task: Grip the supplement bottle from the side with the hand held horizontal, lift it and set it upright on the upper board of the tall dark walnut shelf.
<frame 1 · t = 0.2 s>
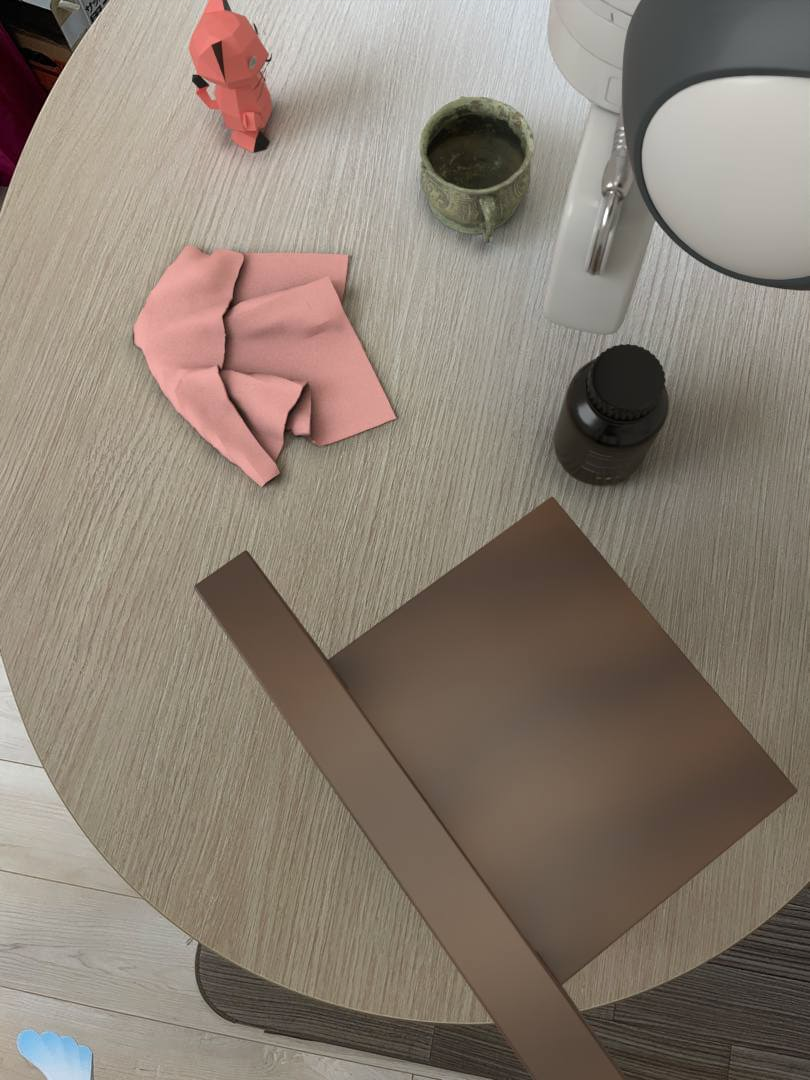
hand: (607, 220, 50), 23 cm above the table, tool pointing down, fingers open, 8 cm apart
vessel: (473, 196, 77), on the table
cat figurine: (247, 128, 80), on the table
supplement bottle: (597, 447, 71), on the table
cloth: (265, 362, 74), on the table
shelf: (502, 763, 65), on the table
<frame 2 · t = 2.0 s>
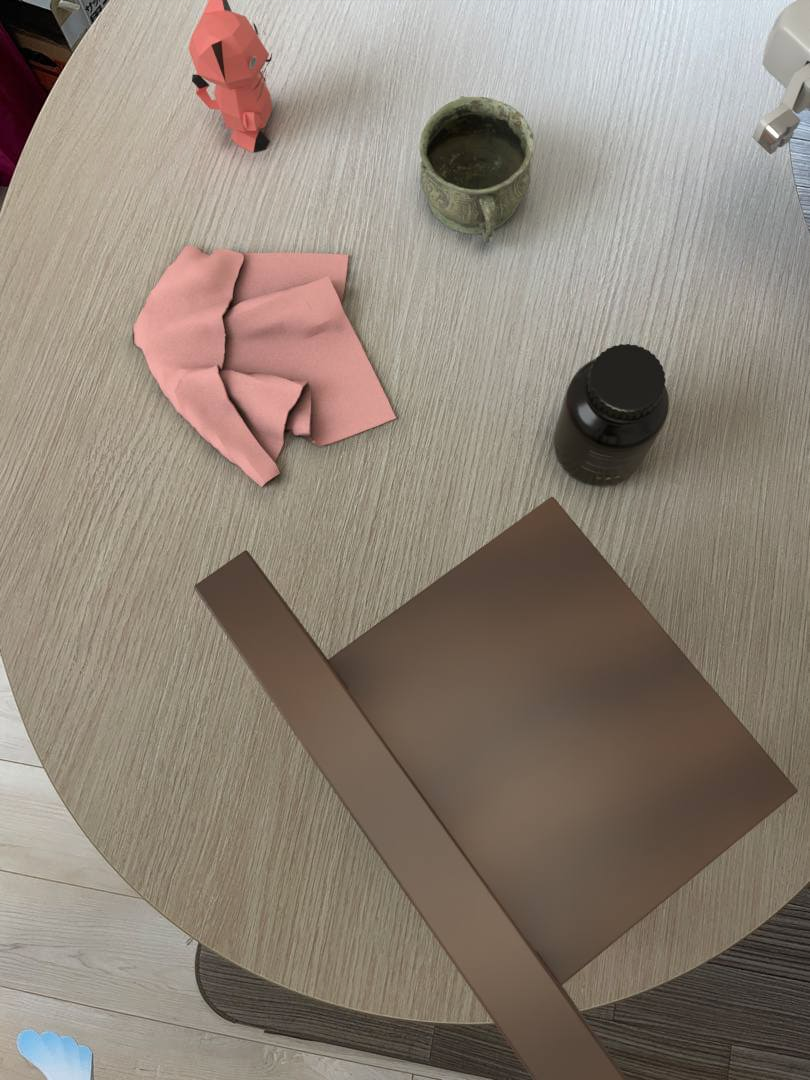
nothing on the table moved.
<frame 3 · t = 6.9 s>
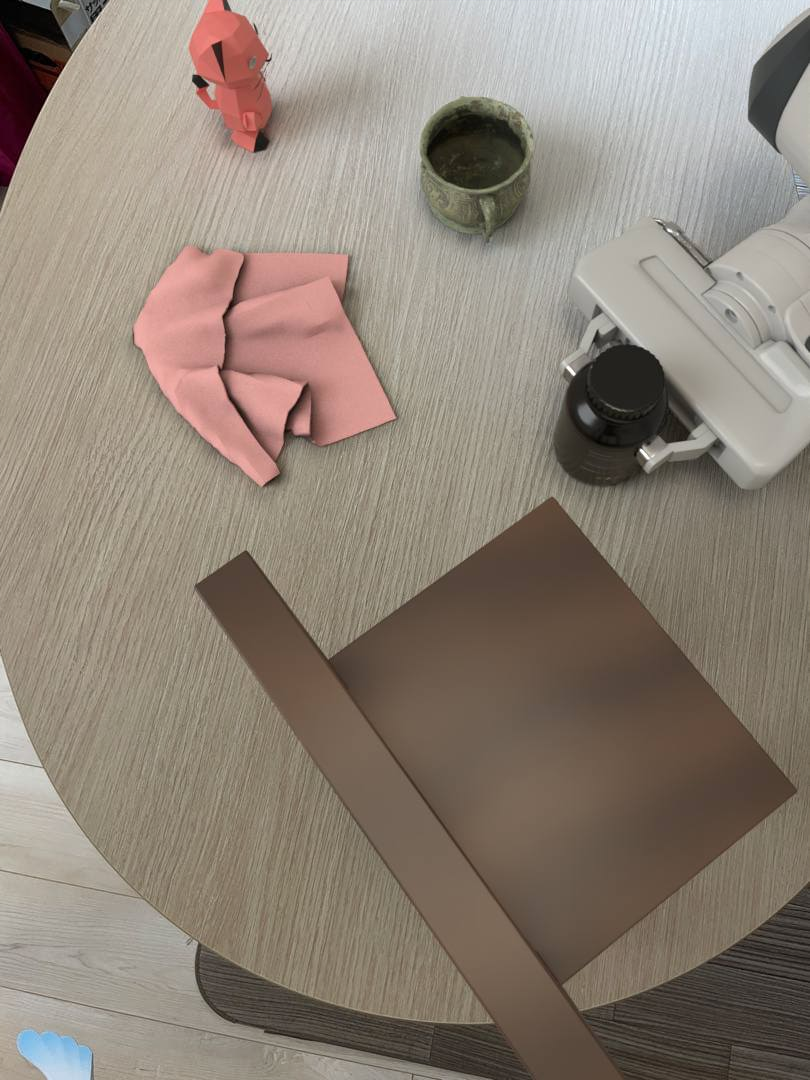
hand: (603, 419, 64), 7 cm above the table, tool horizontal, fingers closed on supplement bottle, 7 cm apart
supplement bottle: (597, 447, 71), on the table, touching gripper
everything else where it was.
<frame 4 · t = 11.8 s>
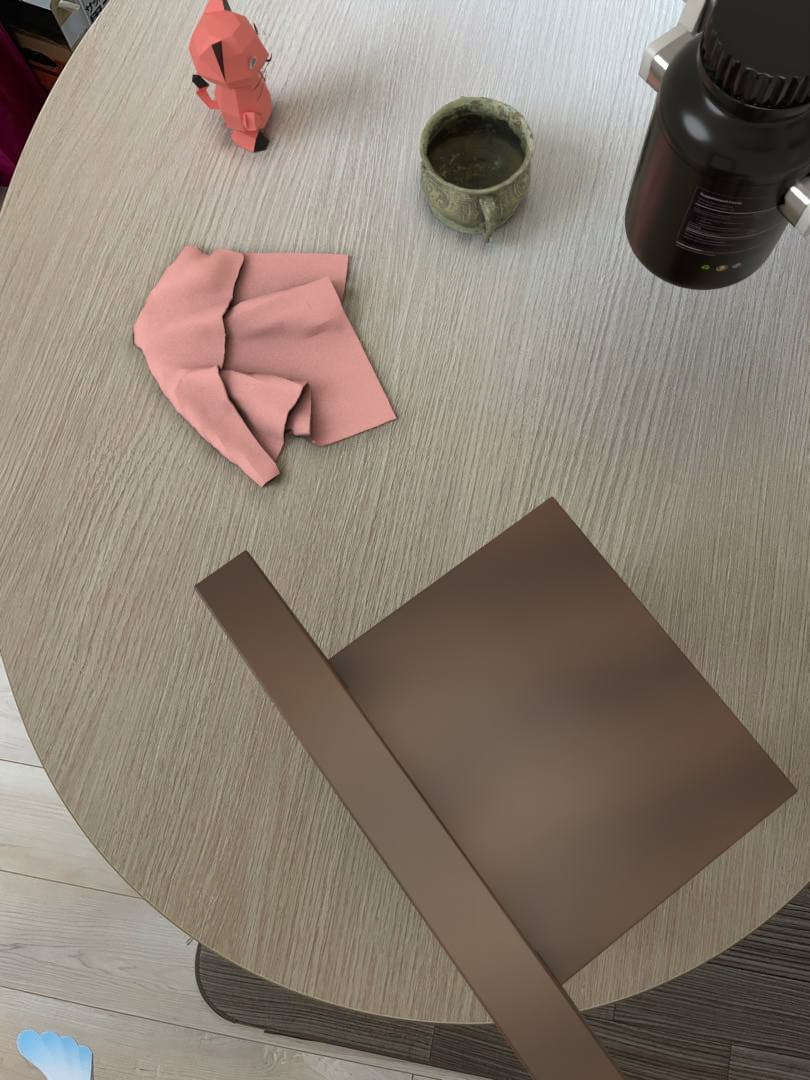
hand: (722, 143, 36), 35 cm above the table, tool horizontal, fingers closed on supplement bottle, 7 cm apart
supplement bottle: (695, 233, 43), point 29 cm above the table, touching gripper
everything else where it was.
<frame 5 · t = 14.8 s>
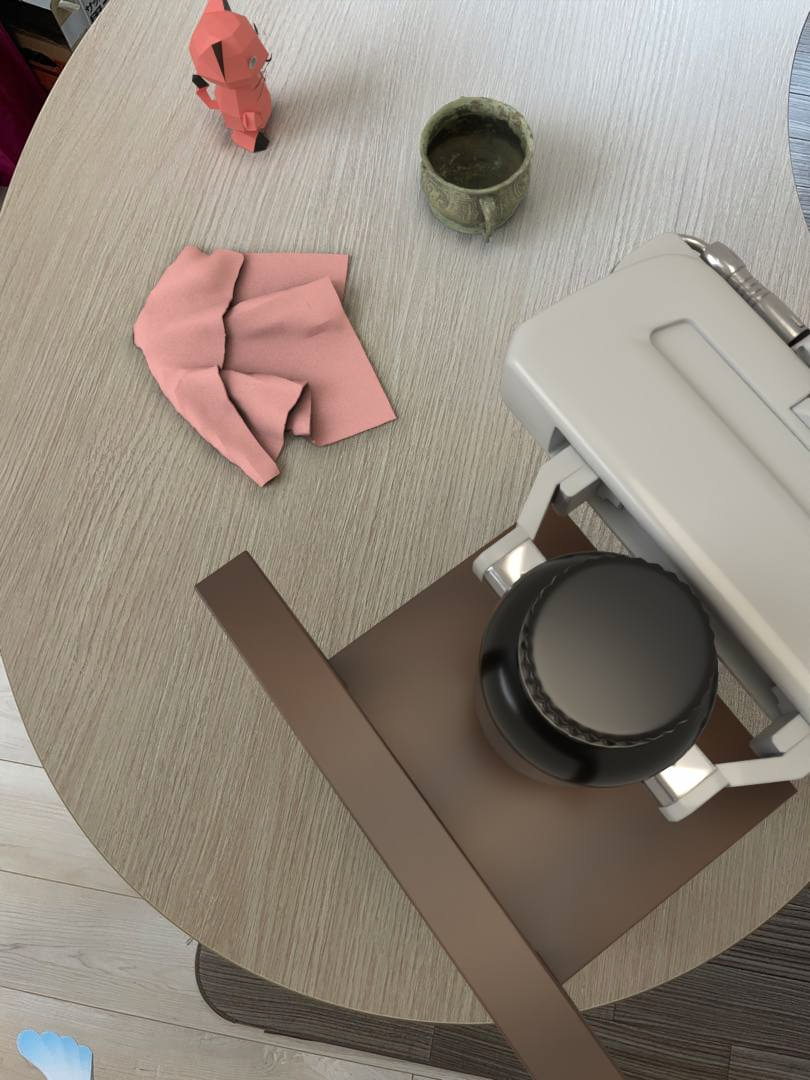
hand: (569, 690, 29), 38 cm above the table, tool horizontal, fingers closed on supplement bottle, 7 cm apart
supplement bottle: (563, 696, 35), point 31 cm above the table, touching gripper
everything else where it was.
when the fingers open (32 cm above the table, at t = 17.0 s): supplement bottle stays where it is, resting on shelf.
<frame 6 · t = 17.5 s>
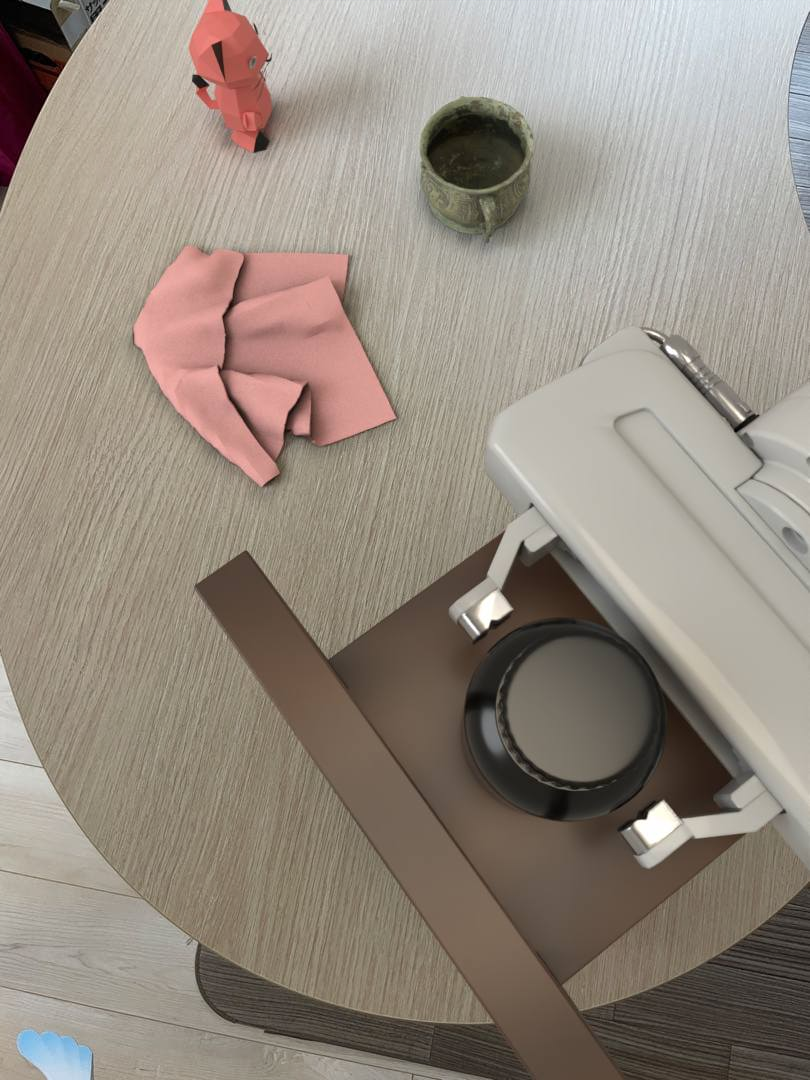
hand: (542, 734, 33), 33 cm above the table, tool horizontal, fingers open, 8 cm apart
supplement bottle: (540, 734, 40), point 26 cm above the table, touching shelf
everything else where it was.
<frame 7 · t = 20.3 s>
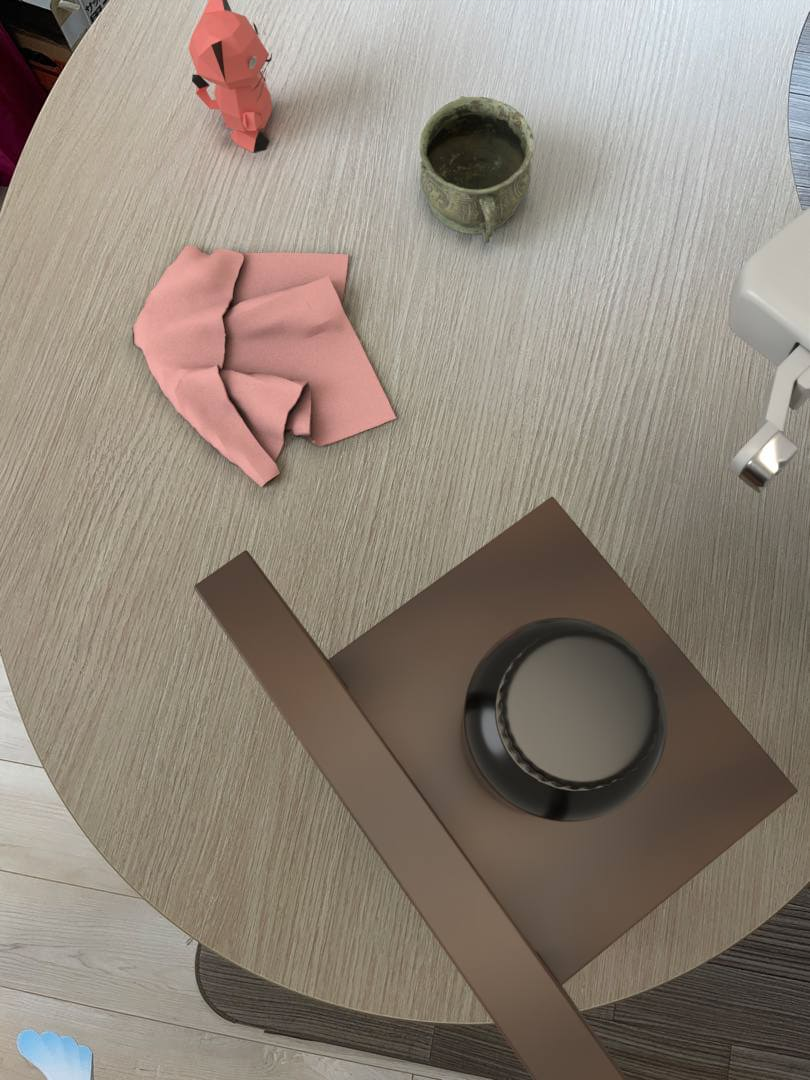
nothing on the table moved.
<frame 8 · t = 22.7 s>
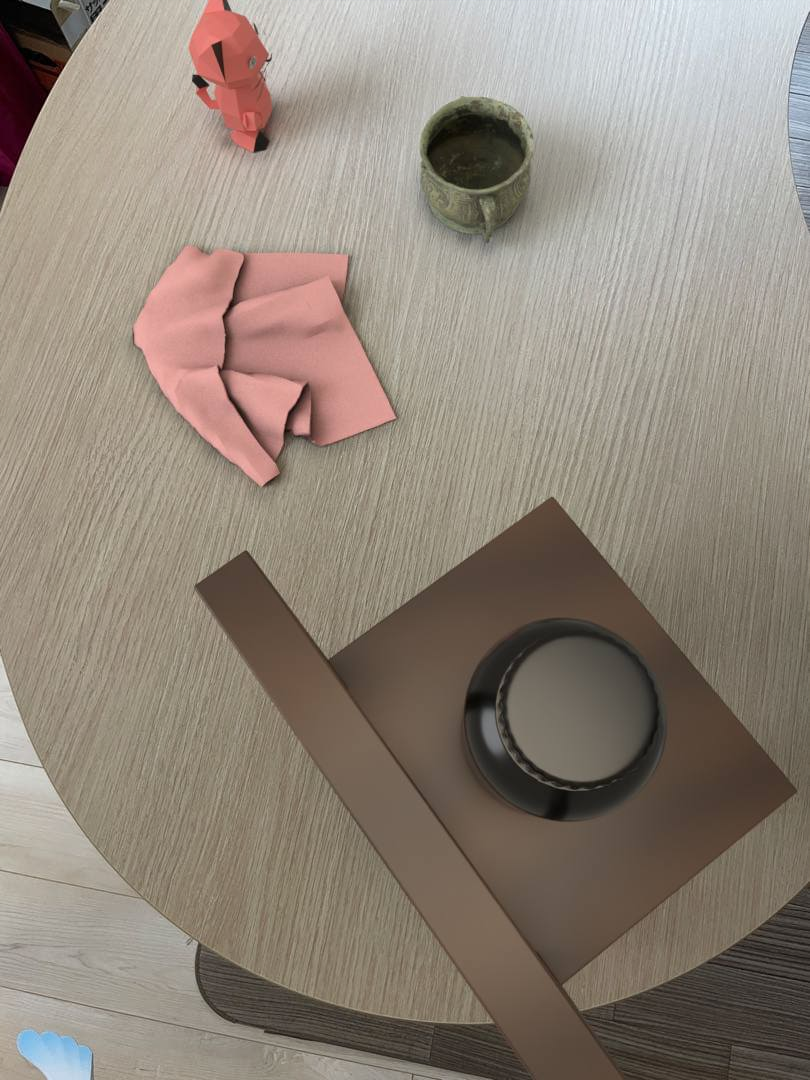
nothing on the table moved.
at the end: supplement bottle inside the target area on the shelf (0.1 cm from its centre), point 25.8 cm above the shelf's base; supplement bottle tilted 0°; the gripper is holding nothing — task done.
